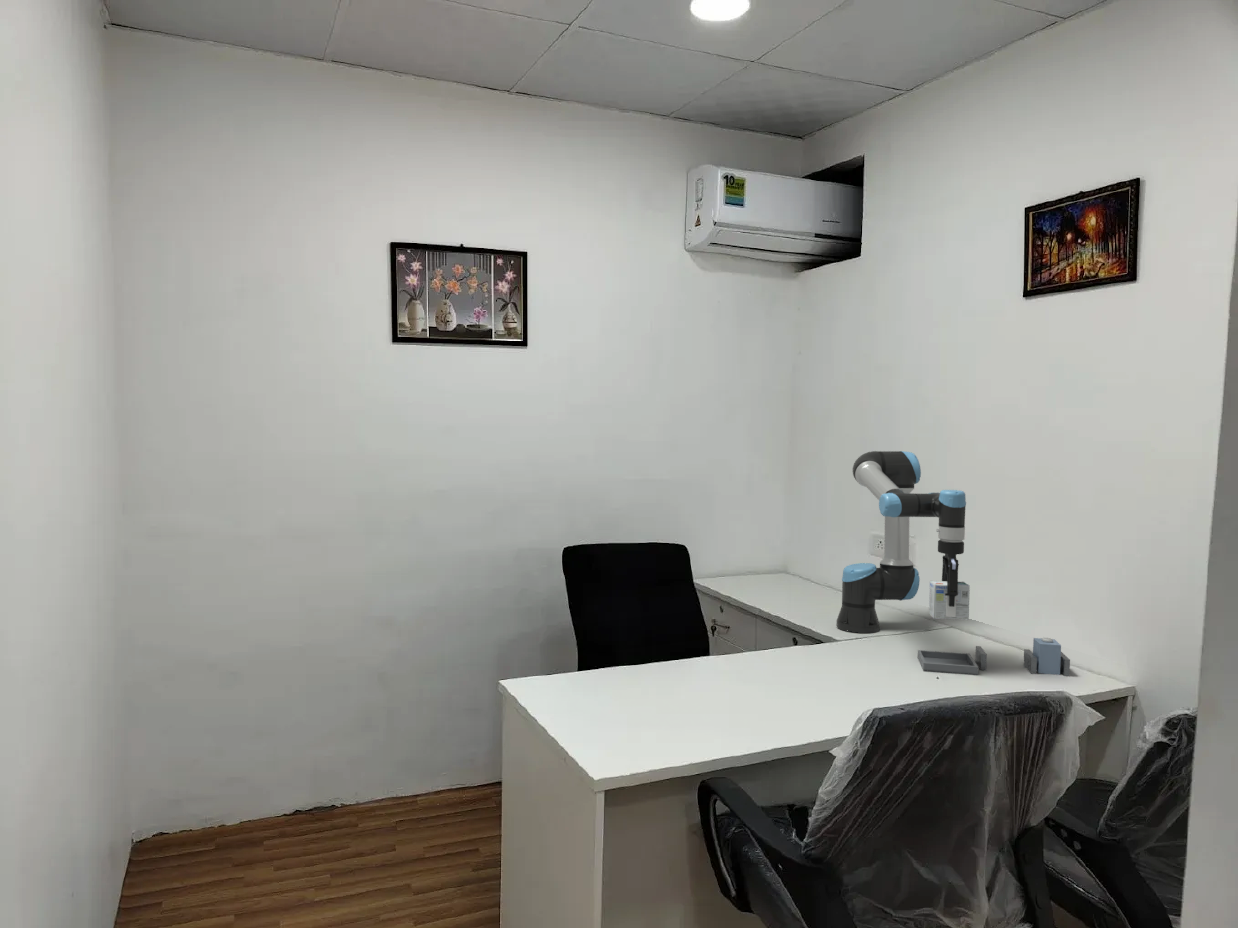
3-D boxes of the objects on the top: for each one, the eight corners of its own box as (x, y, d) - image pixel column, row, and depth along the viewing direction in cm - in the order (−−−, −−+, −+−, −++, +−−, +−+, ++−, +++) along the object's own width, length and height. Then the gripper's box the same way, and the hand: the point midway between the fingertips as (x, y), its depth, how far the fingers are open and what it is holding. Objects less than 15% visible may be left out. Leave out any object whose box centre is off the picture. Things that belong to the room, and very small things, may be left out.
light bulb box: (962, 614, 263) (964, 580, 263) (969, 620, 257) (970, 585, 256) (927, 613, 264) (928, 579, 264) (933, 619, 258) (934, 584, 257)
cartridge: (1032, 666, 262) (1033, 635, 261) (1053, 667, 261) (1054, 636, 260) (1038, 672, 255) (1039, 641, 255) (1059, 674, 254) (1061, 642, 253)
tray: (917, 657, 270) (917, 649, 270) (969, 661, 267) (969, 653, 267) (923, 671, 256) (923, 663, 256) (978, 675, 253) (978, 666, 252)
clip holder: (975, 661, 267) (975, 645, 266) (1060, 667, 261) (1061, 651, 261) (980, 669, 258) (981, 653, 258) (1069, 676, 252) (1070, 659, 252)
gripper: (933, 535, 270) (931, 605, 271) (943, 544, 250) (940, 620, 251) (958, 536, 268) (955, 606, 269) (970, 545, 248) (967, 622, 250)
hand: (948, 613), depth 260 cm, fingers closed on light bulb box, 7 cm apart
